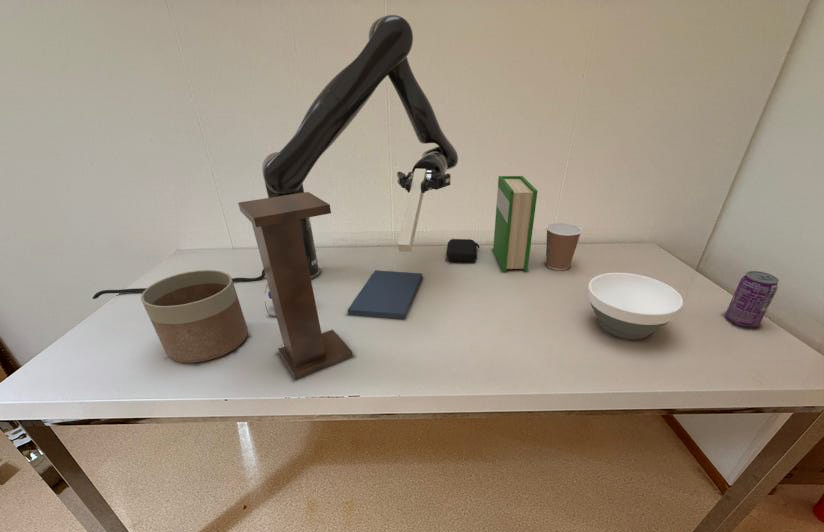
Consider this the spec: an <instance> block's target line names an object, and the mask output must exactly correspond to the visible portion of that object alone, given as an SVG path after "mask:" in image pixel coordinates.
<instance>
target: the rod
mask: <svg viewBox="0 0 824 532" xmlns="http://www.w3.org/2000/svg"><path fill="white" fill-rule="evenodd" d="M425 178H426V169H415V172H414V176H413V180H412V185H411V189H410V193H409V192H408V193H409V194H408V198H407V201H406V207H405V211H404V214H403V218H402V219H403V220H402V224H401V228H400V231H399V236H398V240H397V247H398V248H397V249H398V251H399V252H400V253H412V250H413V246H414V242H415V237H416V232H417V228H418V227H417V226H418V222H419V217H420V212H421V208H422V204H423V203H422V202H423V199H424V194H425V193H421V182H422V181H423V180H426V179H425Z"/></svg>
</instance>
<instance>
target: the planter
mask: <svg viewBox="0 0 824 532" xmlns="http://www.w3.org/2000/svg"><path fill="white" fill-rule="evenodd" d="M232 278H233V277H232V276H231V275H230V274H229V273H227V272H224V271H221V270H216V269H201V270H191V271H186V272H181V273H177V274H174V275H170V276H167V277H165V278H162V279H160V280H158V281H156V282H154V283H152V284H151V285H149V286H148V287H146V288H147V289H146V290H145V291H144V292H141V295H140V301H141V303H142V305H143V307H144V309H145V311H146V314H147V316H148V318H149V320H150V322H151V324H152V326H153V329H154V330H155V333H156V335H157V337H158V339H159V341H160V344H161V346H162V348H163V350H164V353H165V354H166V356H167V357H168V358H169V359H170V360H173V361H174V362H175V361H176V362H179V363H199V362H200V363H201V362H205V361H210V360H213V359H216V358H219V357H222V356H224V355H226V354H228V353H230V352H231V351H233V350H235V349H236V348H238V347H239V346H241V344H242V343H244V342H245V340H246V338H247V336H248V334H249V328H248V326H247V325H248V324H247V322H246V319H245V316H244V312H243V308H242V306H241V303H240V299H239V298H238V294H237V290H236V287H235V283H234V282H233V280H232Z"/></svg>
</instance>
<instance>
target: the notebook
mask: <svg viewBox="0 0 824 532" xmlns="http://www.w3.org/2000/svg"><path fill="white" fill-rule="evenodd" d="M422 280H423V273H420V272H405V271H393V270H378V269H377V270H376V269H374V271H373V273H372V274H371V275H370V277H369V278H368V280H367V281H366V283H365V284H364V285H363V287H362V288H361V290H359V292H358V294H357V296H356V297H355V298H354V300H353V301H352V303H351V304H350V306H349V307H348V309H347V314H348V316H361V317H370V318H384V319H397V320H405V318H406V316H407V313H408V312H409V309H410V307H411V305H412V302H413V300H414V299H415V296H416V293H417V291H418V288H419V287H420V284H421V281H422Z"/></svg>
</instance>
